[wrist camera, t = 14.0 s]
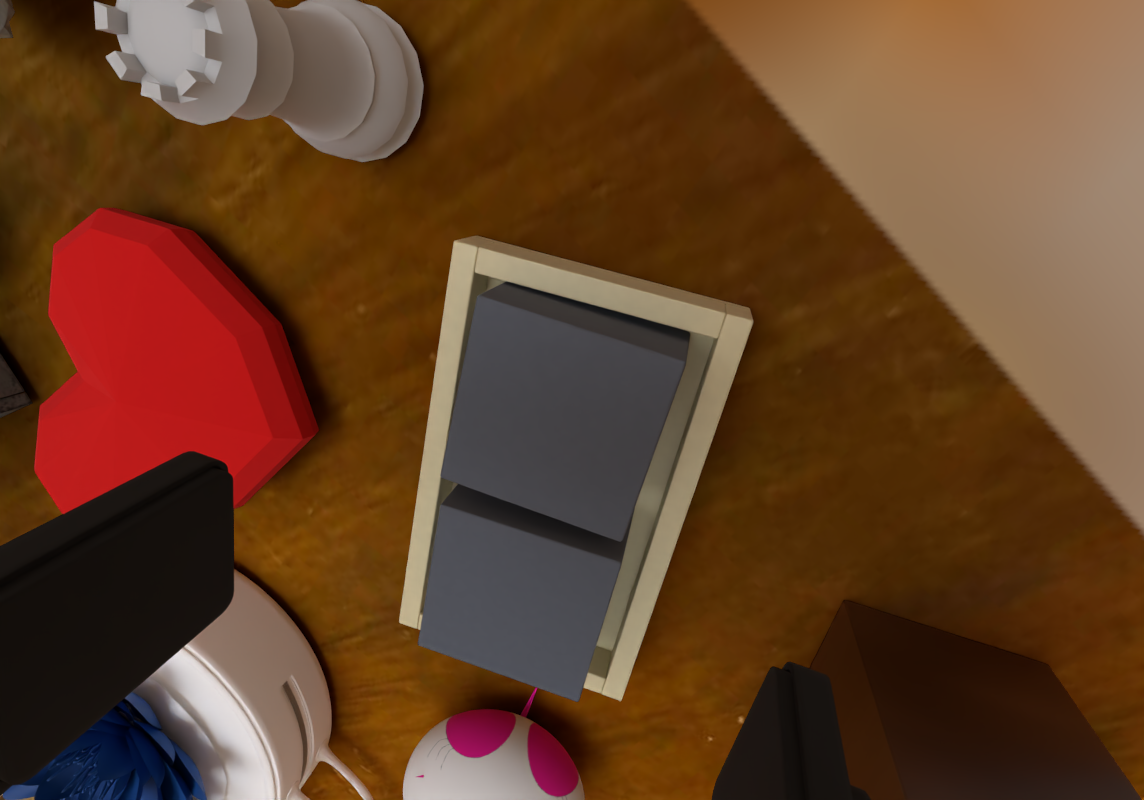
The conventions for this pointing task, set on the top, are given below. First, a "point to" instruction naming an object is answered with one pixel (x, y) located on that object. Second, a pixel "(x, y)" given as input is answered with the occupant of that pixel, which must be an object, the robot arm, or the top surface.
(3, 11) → the grey irregular lump
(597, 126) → the top surface
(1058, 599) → the top surface
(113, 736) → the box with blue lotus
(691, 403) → the frame
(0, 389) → the camera
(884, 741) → the stand
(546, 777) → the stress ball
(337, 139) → the rook chess piece
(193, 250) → the heart
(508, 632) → the seated pad
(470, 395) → the loose pad
